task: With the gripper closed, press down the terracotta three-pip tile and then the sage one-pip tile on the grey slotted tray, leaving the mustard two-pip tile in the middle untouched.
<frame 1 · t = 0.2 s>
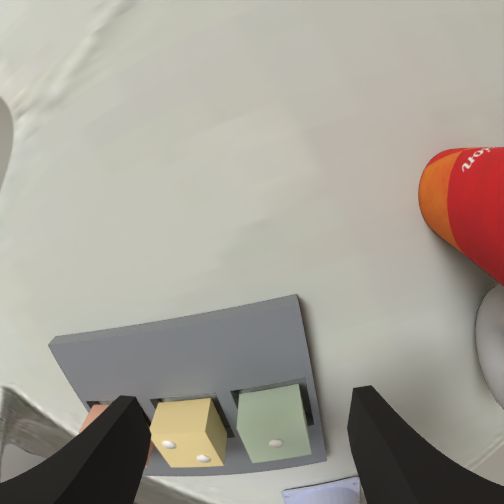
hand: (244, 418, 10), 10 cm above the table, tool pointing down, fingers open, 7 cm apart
tile three pips: (118, 436, 20), point 3 cm above the table, slide at 0.0 cm
grey slotted tray: (195, 409, 22), on the table
tile one pip: (275, 425, 19), point 3 cm above the table, slide at 0.0 cm
tile two pips: (189, 435, 20), point 3 cm above the table, slide at 0.0 cm
donut: (482, 316, 20), on the table
paper cup: (451, 192, 17), on the table
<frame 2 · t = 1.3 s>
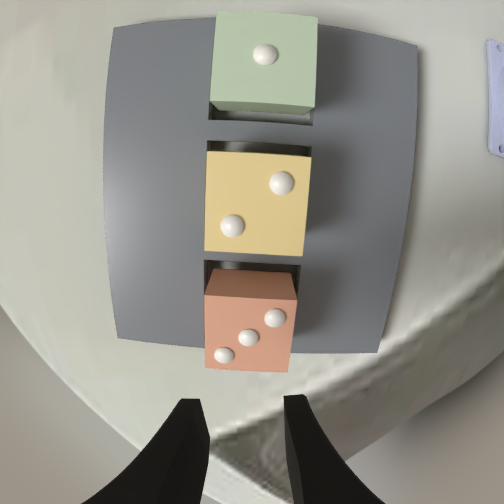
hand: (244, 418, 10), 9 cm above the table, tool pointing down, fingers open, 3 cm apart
tile three pips: (249, 320, 16), point 3 cm above the table, slide at 0.0 cm
grey slotted tray: (256, 190, 17), on the table
tile one pip: (264, 64, 12), point 3 cm above the table, slide at 0.0 cm
tile two pips: (256, 198, 14), point 3 cm above the table, slide at 0.0 cm
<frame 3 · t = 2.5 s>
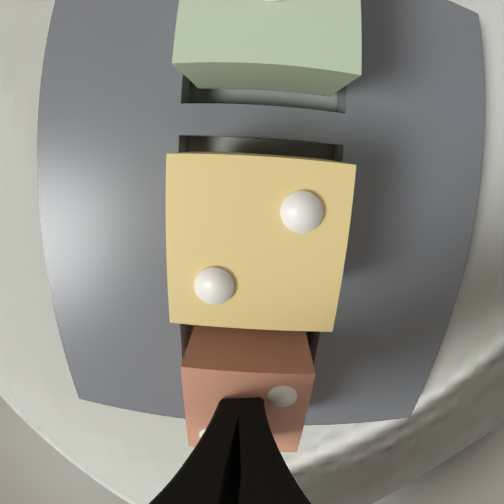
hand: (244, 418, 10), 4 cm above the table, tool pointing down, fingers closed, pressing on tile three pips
tile three pips: (246, 387, 11), point 2 cm above the table, slide at 0.8 cm, touching gripper
grey slotted tray: (257, 211, 11), on the table
tile one pip: (269, 12, 7), point 3 cm above the table, slide at 0.0 cm
tile two pips: (256, 231, 9), point 3 cm above the table, slide at 0.0 cm
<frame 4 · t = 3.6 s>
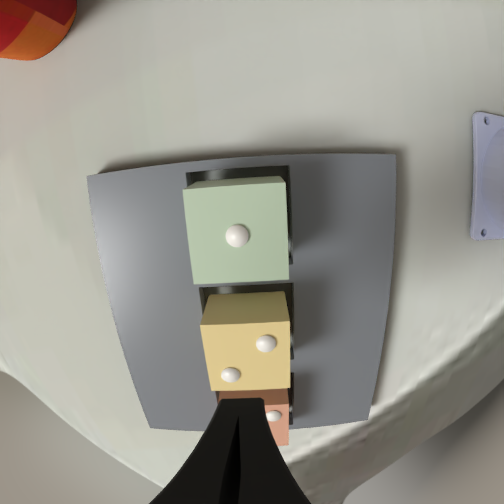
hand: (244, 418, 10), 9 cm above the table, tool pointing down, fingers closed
tile three pips: (255, 410, 19), point 2 cm above the table, slide at 0.8 cm
grey slotted tray: (249, 315, 19), on the table
tile one pip: (239, 226, 14), point 3 cm above the table, slide at 0.0 cm
tile two pips: (248, 341, 16), point 3 cm above the table, slide at 0.0 cm
paper cup: (43, 24, 13), on the table
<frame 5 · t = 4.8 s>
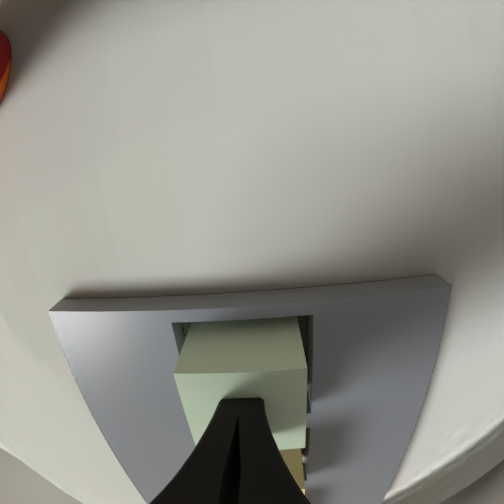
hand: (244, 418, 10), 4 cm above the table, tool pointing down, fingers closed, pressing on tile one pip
grey slotted tray: (258, 443, 15), on the table
tile one pip: (246, 387, 11), point 2 cm above the table, slide at 0.8 cm, touching gripper
tile two pips: (258, 485, 12), point 3 cm above the table, slide at 0.0 cm
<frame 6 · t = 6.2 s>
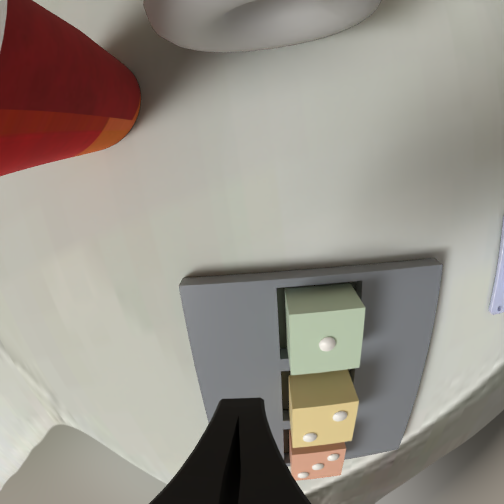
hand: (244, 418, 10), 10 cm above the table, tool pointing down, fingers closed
tile three pips: (315, 451, 22), point 2 cm above the table, slide at 0.8 cm
grey slotted tray: (315, 384, 22), on the table
tile one pip: (322, 328, 18), point 2 cm above the table, slide at 0.8 cm
tile two pips: (321, 410, 19), point 3 cm above the table, slide at 0.0 cm
donut: (264, 32, 15), on the table
paper cup: (100, 106, 16), on the table
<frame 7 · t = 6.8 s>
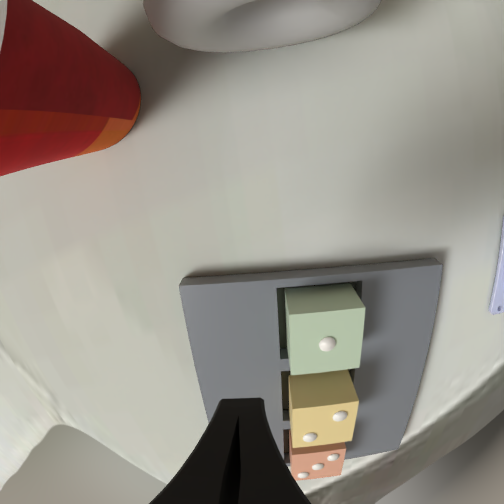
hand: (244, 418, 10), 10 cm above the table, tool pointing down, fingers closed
tile three pips: (315, 451, 22), point 2 cm above the table, slide at 0.8 cm
grey slotted tray: (315, 384, 22), on the table
tile one pip: (322, 328, 18), point 2 cm above the table, slide at 0.8 cm
tile two pips: (321, 410, 19), point 3 cm above the table, slide at 0.0 cm
donut: (264, 32, 15), on the table
paper cup: (100, 106, 16), on the table
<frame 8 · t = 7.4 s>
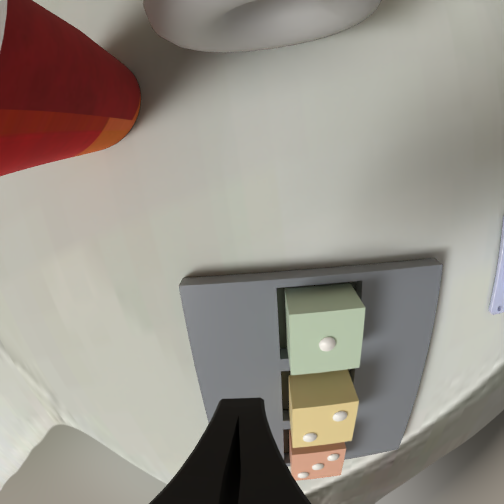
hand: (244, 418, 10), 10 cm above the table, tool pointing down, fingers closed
tile three pips: (315, 451, 22), point 2 cm above the table, slide at 0.8 cm
grey slotted tray: (315, 384, 22), on the table
tile one pip: (322, 328, 18), point 2 cm above the table, slide at 0.8 cm
tile two pips: (321, 410, 19), point 3 cm above the table, slide at 0.0 cm
donut: (264, 32, 15), on the table
paper cup: (100, 106, 16), on the table
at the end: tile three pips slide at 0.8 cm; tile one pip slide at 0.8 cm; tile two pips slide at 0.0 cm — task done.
